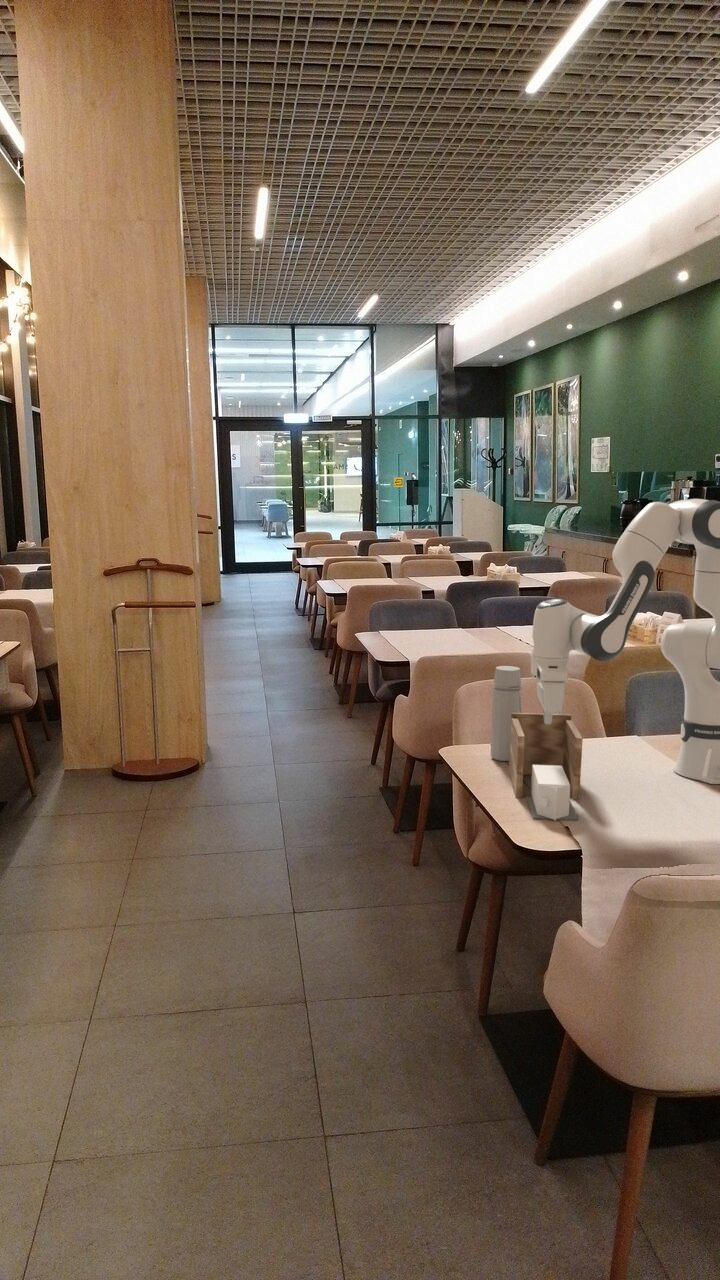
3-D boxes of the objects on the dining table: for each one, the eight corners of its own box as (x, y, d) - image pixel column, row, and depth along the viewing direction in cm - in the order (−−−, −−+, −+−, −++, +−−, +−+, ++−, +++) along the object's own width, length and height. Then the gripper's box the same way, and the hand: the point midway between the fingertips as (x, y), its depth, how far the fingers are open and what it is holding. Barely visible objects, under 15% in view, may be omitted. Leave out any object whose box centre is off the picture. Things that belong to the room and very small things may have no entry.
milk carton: (562, 765, 228) (572, 790, 210) (560, 793, 229) (571, 821, 211) (532, 764, 229) (540, 789, 210) (530, 792, 230) (538, 820, 211)
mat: (568, 799, 227) (569, 798, 227) (578, 820, 213) (578, 818, 213) (526, 798, 227) (526, 796, 227) (532, 818, 213) (532, 817, 213)
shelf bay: (567, 774, 246) (570, 714, 243) (579, 799, 227) (582, 734, 224) (508, 772, 247) (511, 712, 244) (515, 797, 228) (518, 732, 225)
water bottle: (501, 763, 254) (504, 671, 250) (484, 756, 261) (487, 666, 257) (529, 759, 258) (533, 669, 254) (511, 752, 265) (515, 663, 261)
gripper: (531, 658, 240) (529, 711, 243) (541, 675, 220) (539, 733, 223) (557, 658, 240) (554, 712, 242) (569, 676, 220) (566, 734, 222)
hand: (547, 722), depth 232 cm, fingers closed
